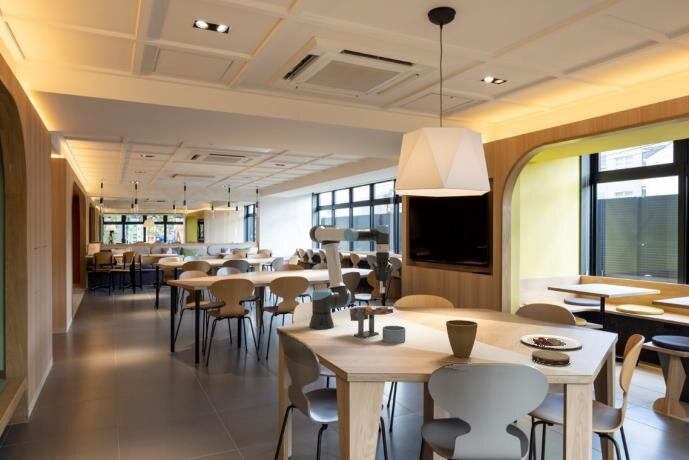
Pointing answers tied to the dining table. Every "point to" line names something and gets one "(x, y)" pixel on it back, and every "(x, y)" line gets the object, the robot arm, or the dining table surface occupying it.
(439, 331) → the dining table surface
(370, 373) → the dining table surface
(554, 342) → the plated food
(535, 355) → the brown round disc
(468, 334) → the plant pot
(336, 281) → the robot arm
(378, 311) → the lever
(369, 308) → the ball
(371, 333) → the lever stand
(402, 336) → the cup
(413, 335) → the dining table surface
